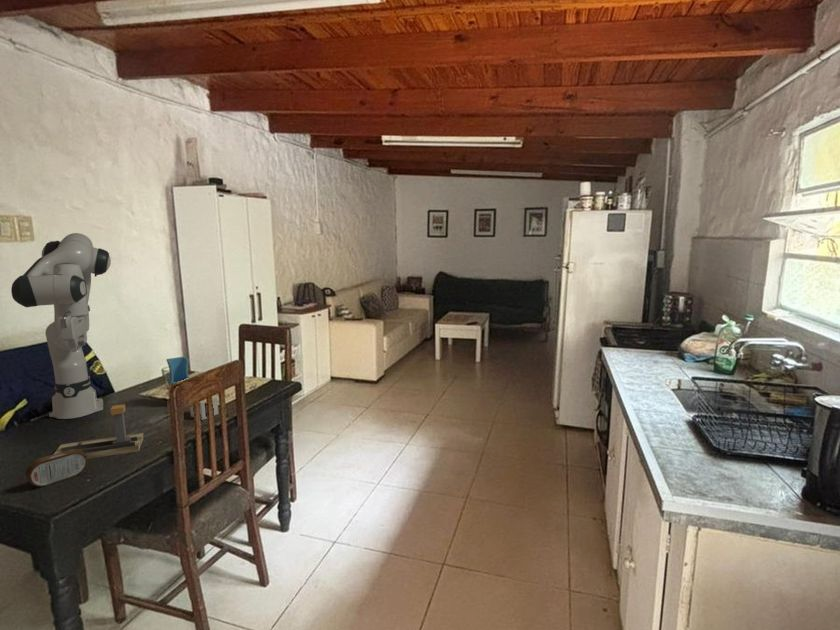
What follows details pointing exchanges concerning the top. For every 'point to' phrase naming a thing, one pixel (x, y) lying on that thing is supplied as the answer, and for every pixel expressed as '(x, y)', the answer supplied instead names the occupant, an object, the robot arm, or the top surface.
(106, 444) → the fader board
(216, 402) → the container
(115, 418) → the fader lever
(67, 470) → the tin
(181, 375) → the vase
